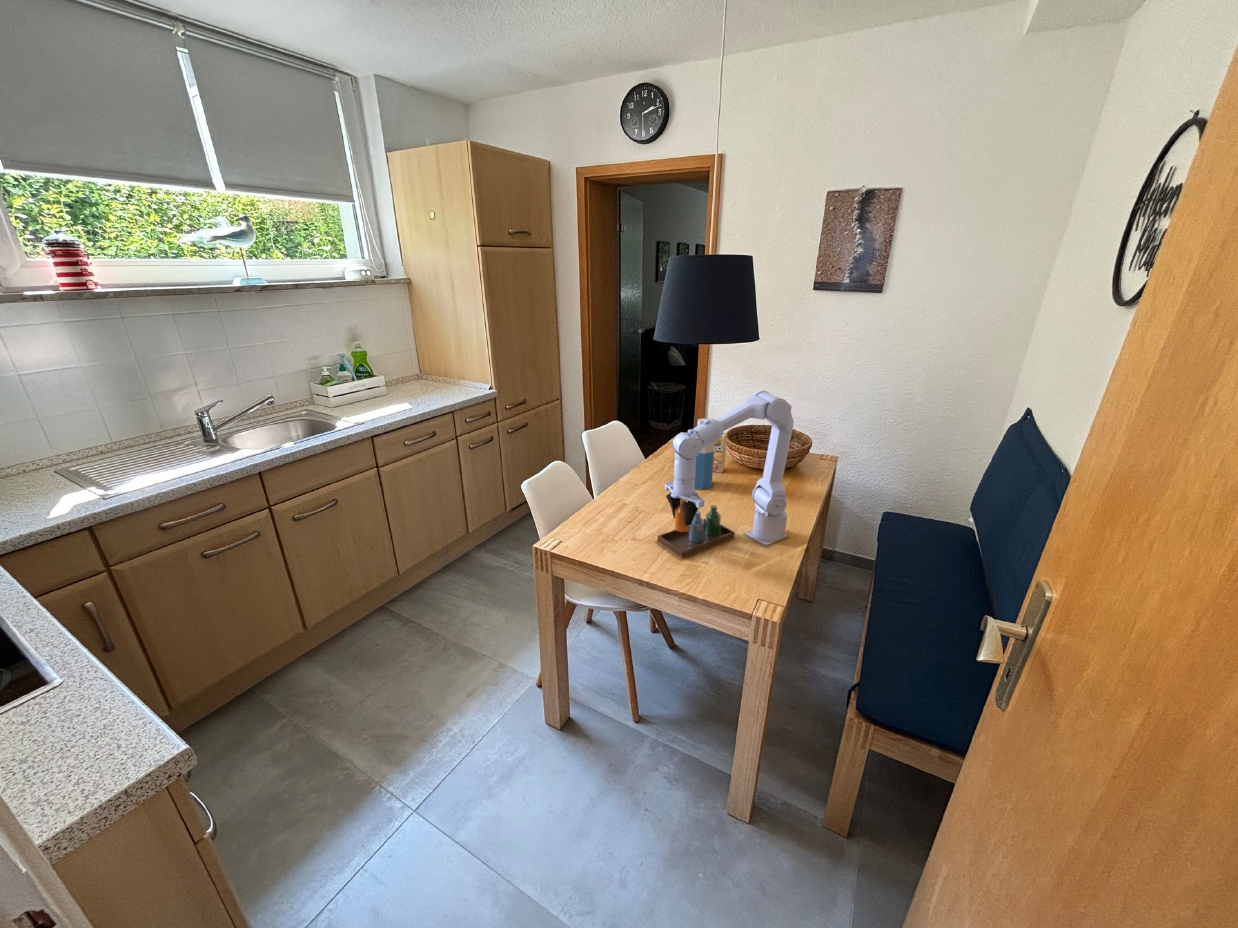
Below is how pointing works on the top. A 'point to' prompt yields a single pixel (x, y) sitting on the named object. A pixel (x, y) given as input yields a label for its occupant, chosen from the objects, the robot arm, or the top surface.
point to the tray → (685, 547)
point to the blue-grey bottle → (697, 529)
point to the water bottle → (704, 465)
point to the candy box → (720, 453)
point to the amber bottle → (680, 518)
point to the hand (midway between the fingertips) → (682, 520)
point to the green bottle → (712, 522)
